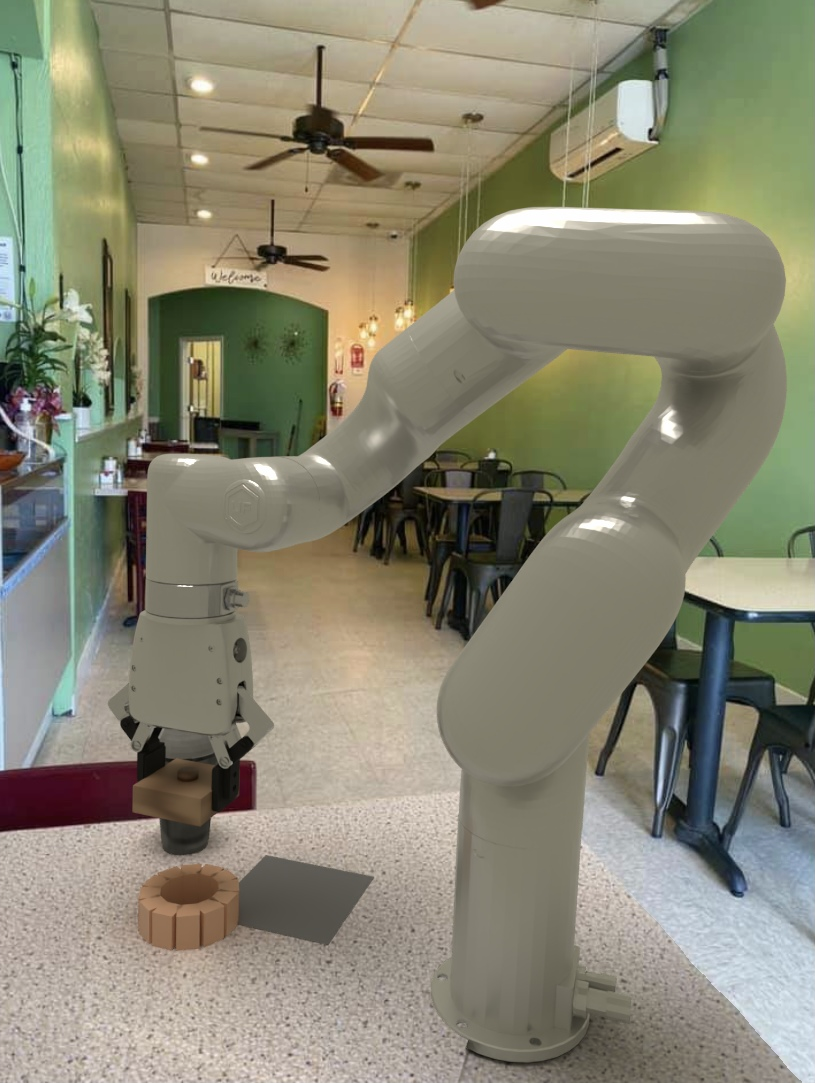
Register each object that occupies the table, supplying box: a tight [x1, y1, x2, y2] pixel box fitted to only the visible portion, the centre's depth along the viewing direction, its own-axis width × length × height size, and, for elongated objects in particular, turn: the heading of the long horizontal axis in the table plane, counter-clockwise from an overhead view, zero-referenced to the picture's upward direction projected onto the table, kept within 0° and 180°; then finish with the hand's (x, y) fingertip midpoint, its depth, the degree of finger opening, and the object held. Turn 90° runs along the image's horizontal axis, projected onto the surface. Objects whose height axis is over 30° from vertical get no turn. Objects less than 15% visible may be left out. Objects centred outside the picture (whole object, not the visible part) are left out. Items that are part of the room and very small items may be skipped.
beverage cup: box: [158, 728, 218, 856], centre depth 86 cm, size 7×7×20 cm
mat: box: [237, 854, 375, 946], centre depth 78 cm, size 12×12×1 cm
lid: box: [132, 758, 241, 826], centre depth 72 cm, size 7×7×3 cm
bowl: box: [137, 863, 240, 952], centre depth 73 cm, size 9×9×4 cm
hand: (187, 796), depth 72 cm, fingers closed on lid, 6 cm apart
